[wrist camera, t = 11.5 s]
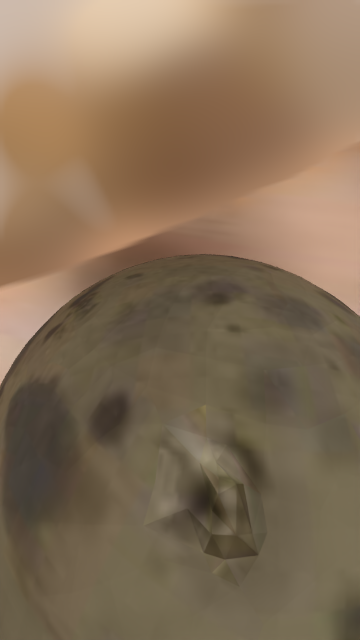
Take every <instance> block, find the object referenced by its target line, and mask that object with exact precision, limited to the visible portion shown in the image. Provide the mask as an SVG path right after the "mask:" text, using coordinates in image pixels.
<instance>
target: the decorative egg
mask: <svg viewBox="0 0 360 640" xmlns="http://www.w3.org/2000/svg"><path fill="white" fill-rule="evenodd" d="M0 640H360V316H358V315H357V314H356V313H355V312H354V311H352V310H351V309H350V308H349V307H348V306H346V305H345V304H344V303H342V302H341V301H340V300H338V299H337V298H336V297H334V296H333V295H331V294H329V293H328V292H326V291H324V290H323V289H321V288H319V287H317V286H316V285H314V284H312V283H310V282H309V281H307V280H305V279H303V278H302V277H300V276H297V275H295V274H292V273H290V272H287V271H285V270H283V269H280V268H278V267H275V266H271V265H268V264H265V263H262V262H258V261H253V260H248V259H243V258H238V257H233V256H223V255H207V254H199V255H184V256H175V257H169V258H162V259H157V260H154V261H150V262H146V263H143V264H139V265H136V266H133V267H130V268H127V269H125V270H122V271H120V272H118V273H116V274H113V275H111V276H109V277H107V278H105V279H103V280H101V281H99V282H98V283H96V284H94V285H92V286H91V287H89V288H87V289H86V290H84V291H82V292H81V293H80V294H78V295H77V296H75V297H74V298H72V299H71V300H70V301H69V302H68V303H66V304H65V305H64V306H63V307H61V308H60V309H59V310H58V311H57V312H56V313H55V314H54V315H53V316H52V317H51V318H50V319H49V320H48V321H47V322H46V323H45V324H44V325H43V326H42V327H41V328H40V329H39V330H38V331H37V332H36V334H35V335H34V336H33V337H32V338H31V339H30V340H29V341H28V343H27V344H26V345H25V347H24V348H23V349H22V351H21V352H20V354H19V355H18V356H17V358H16V359H15V361H14V362H13V364H12V366H11V368H10V369H9V371H8V373H7V374H6V376H5V378H4V379H3V381H2V383H1V386H0Z"/></svg>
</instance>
